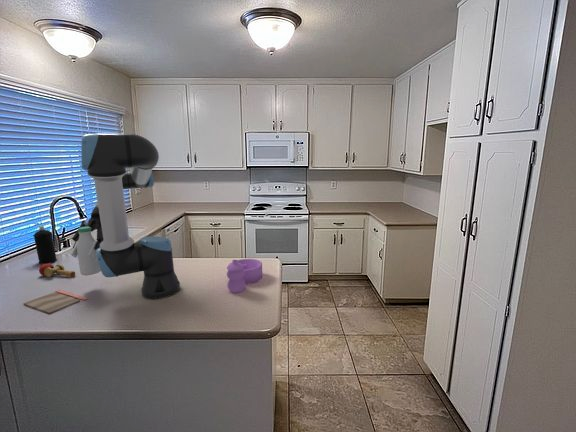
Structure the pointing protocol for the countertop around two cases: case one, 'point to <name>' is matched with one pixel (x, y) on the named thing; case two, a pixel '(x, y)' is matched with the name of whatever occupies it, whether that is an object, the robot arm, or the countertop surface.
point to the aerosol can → (45, 246)
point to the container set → (243, 273)
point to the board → (51, 302)
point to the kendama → (54, 270)
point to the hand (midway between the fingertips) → (82, 256)
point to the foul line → (71, 295)
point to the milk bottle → (86, 252)
